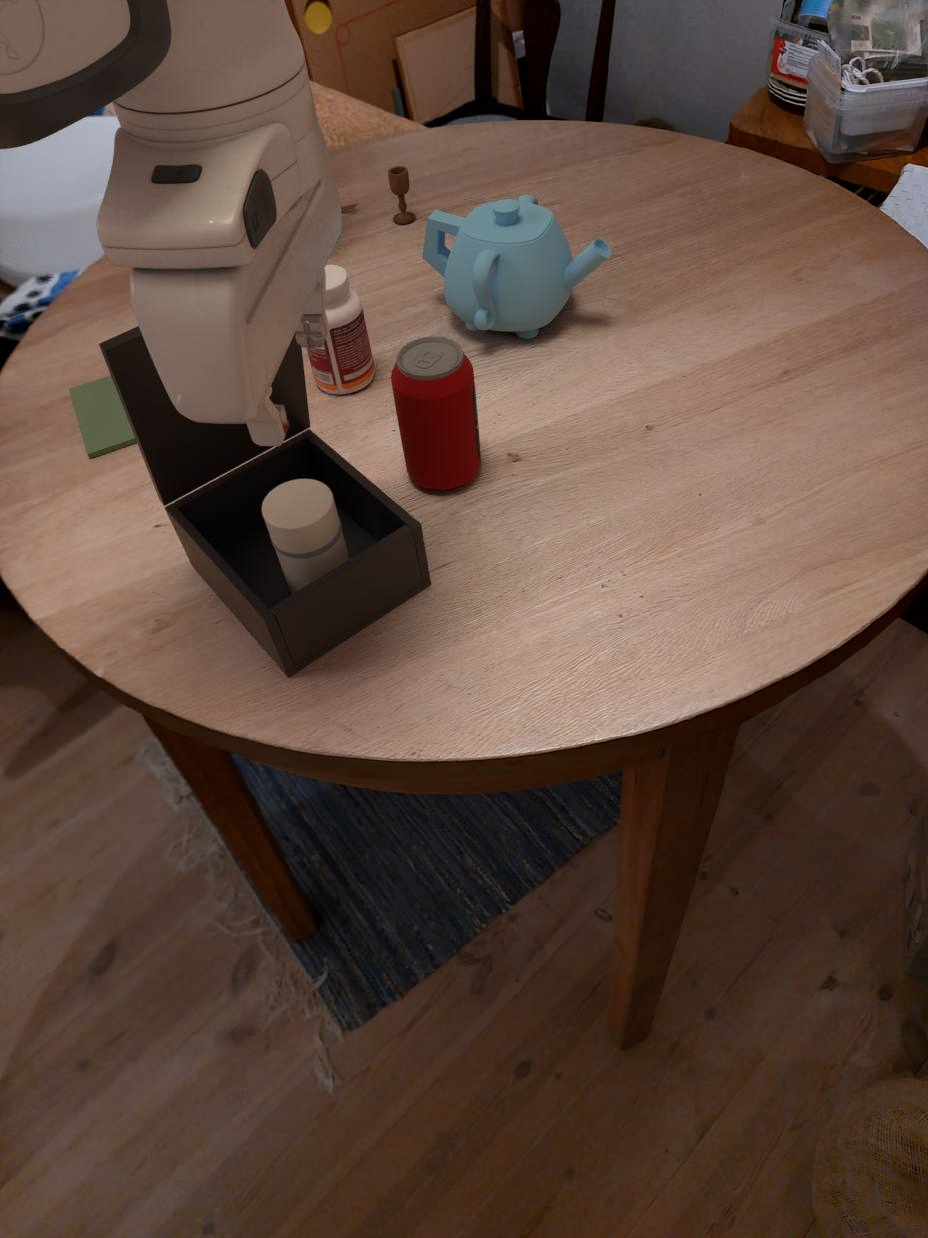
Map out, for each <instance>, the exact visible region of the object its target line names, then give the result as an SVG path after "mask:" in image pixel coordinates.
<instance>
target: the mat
mask: <svg viewBox="0 0 928 1238" xmlns="http://www.w3.org/2000/svg"><path fill="white" fill-rule="evenodd" d="M68 391H69V392H68V393H69V395H70V398H71V402H72V406H73V409H74V412H75V416H76V419H77V423H78V428H79V430H80V433H81V437H82V441H83V444H84V447H85V452H86V455H87V457H88V458H89V459H93V458H96V457H99V456H103V455H105V454H108V453H111V452H114V451H116V450H120V449H123V448H126V447H128V446H131V445H134V444H137V441H136V439H135V436H134V433H133V431H132V428H131V426H130V423H129V421H128V418H127V416H126V413H125V410H124V408H123V405H122V403H121V400H120V398H119V395H118V392H117V390H116V387H115V385H114V382H113V380H112V377H111V374H109V375H107V376H104V377H101V378H98V379H94V380H92V381H88V382H86V383H85V382H84V383H82V384H79V385H76V386H72V387H70V388H68Z"/></svg>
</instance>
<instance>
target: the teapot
mask: <svg viewBox="0 0 928 1238" xmlns="http://www.w3.org/2000/svg"><path fill="white" fill-rule="evenodd" d="M446 234H448V235H451V236H453V237H455V238H454V241H453V243H452V246H451V248H450V249H449V248H448V247H447V246H446ZM611 256H612V249H611V247H610V245H609V243H608V242H607V241H606V240H604V239H603V238H601V237H596V238H594V239H593V241H592V242H590V244H588V245H587V246H586V247H585V248H584V249H583V250H582V251H581V252H580V253H579V254H578V255H577V256H576V257H573V253H572V249H571V245H570V242H569V240H568V239H567V236H566V234H565V231H564V230H563V228H562V226H561V223H560V222H559V221H558V219H557V218H556V216H555V214H554V213H553V212H552V210H550V209H548V208H547V207H545V206H542V205H539V200H538V199H537V197H536V196H535V195H532V194H522V195H521V196H519V197H518V198H517V199H514V198H501V199H499V200H496V201H489V202H484V203H481V204H479V205H478V206H476V207H475V208H474V209H472V210H471V211H470V212H469V213H468V215H467V216H466V217H465V216H461V215H457V214H452V213H449V212H445V211H441V210H438V209H434V211H432V212H431V214H430V215H429V216H428V217H427V219H426V226H425V235H424V242H423V249H422V256H421V258H422V259H423V260H424V261H425V262H427V264H429V265H430V267H432V268H433V270H435V271H436V272H437V273H438V274H439V275H441V276H442V278H443V294H444V300H445V302H446V304H447V306H448V308H449V309H450V310H451V311H452V313H454V315H455V316H456V317H458V318H459V319H460V320H461V321H463V322H465V328H466V329H467V330H469V331H473V332H476V331H477V332H478V331H488V330H489V331H494V332H506V333H507V332H511V333H512V332H515V334H516V336H517V337H518V338H520V339H532V338H536V336H538V334H539V332H540V331H539V329H541V328H543V327H546V325H548V324H550V323H551V322H553V320H554V319H555V318H556V317H557V316H558V315H559V313H560V312H561V310H562V309H563V308H564V306H565V305H566V303H567V302H568V300H569V298H570V297H571V295H572V292H573V289H574V288H575V287H576V286H578V285H579V284H580V283H581V282H583V280H585V279H586V278H587V277H588V276H589V275H590V274H592V273H593V272H594V271H595V270H597V269H598V268H599V267H600V266H601V265H603V263H605V262H606V261H607V260H608V259H610V258H611Z"/></svg>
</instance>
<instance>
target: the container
mask: <svg viewBox="0 0 928 1238" xmlns="http://www.w3.org/2000/svg"><path fill="white" fill-rule="evenodd" d="M262 515H263V517H264V520H265V523H266V526H267V528H268V531H269V534H270V539H271V542H272V544H273V546H274V548H275V551H276V553H277V556H278V559H279V562H280V564H281V567H282V570H283V573H284V575H285V578H286V581H287V584H288V586H289V589H290V592H291V595H292V594H294V593H295V592H297V591H299V590H300V589H302V588H304V587H305V586H307V585H308V584H310V583H312V582H313V581H315V580H317V579H318V578H320V577H321V576H323V575H325V574H326V573H328V572H330V571H331V570H333V569H334V568H336V567H338V566H339V565H341V564H343V563H344V562H346V561H347V560H349V559H350V558H349V554H348V550H347V546H346V543H345V539H344V535H343V531H342V526H341V521H340V518H339V516H338V513H337V509H336V505H335V502H334V498H333V494H332V492H331V490H330V489H329V488H328V487H327V486H326V485H325V484H324V483H322V482H320V481H317V480H313V479H296V480H291V481H288V482H285V483H283V484H281V485H279V486H277V487H276V488H274V489H273V490H272V491H270V492H269V493H268V495H267V496H266V497H265V499H264V501H263V504H262Z"/></svg>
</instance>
